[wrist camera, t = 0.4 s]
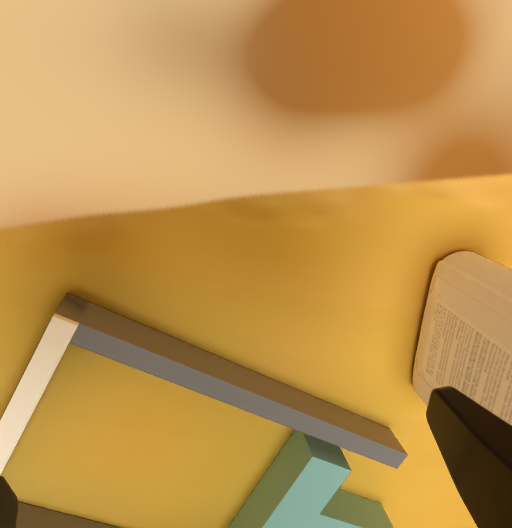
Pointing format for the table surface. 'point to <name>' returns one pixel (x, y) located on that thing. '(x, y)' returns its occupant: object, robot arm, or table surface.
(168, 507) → the table surface
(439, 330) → the photo printer
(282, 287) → the table surface
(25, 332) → the table surface
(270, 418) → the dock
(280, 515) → the t block
